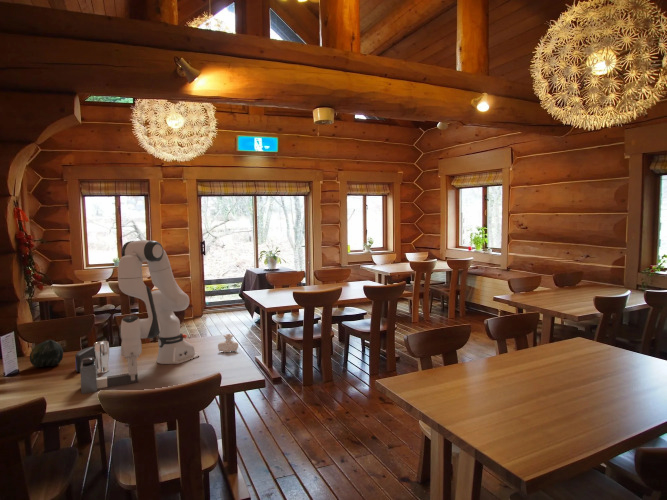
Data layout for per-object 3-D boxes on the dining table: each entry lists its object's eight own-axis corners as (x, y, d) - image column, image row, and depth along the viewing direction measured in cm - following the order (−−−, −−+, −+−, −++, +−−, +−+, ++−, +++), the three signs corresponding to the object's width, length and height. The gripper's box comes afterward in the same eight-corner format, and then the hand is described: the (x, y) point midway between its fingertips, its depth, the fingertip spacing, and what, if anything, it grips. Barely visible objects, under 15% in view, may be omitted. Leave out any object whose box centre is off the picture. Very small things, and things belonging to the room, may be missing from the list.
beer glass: (103, 374, 217) (102, 345, 216) (91, 373, 219) (90, 344, 218) (113, 369, 224) (112, 341, 223) (101, 368, 226) (100, 340, 224)
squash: (26, 354, 232) (30, 337, 225) (58, 349, 243) (63, 333, 236) (31, 376, 225) (35, 360, 218) (63, 370, 236) (68, 354, 229)
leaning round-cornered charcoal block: (87, 363, 235) (86, 346, 234) (96, 362, 235) (95, 345, 234) (70, 373, 219) (69, 355, 218) (79, 373, 219) (78, 355, 218)
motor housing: (97, 383, 205) (96, 354, 204) (96, 391, 195) (95, 361, 194) (83, 385, 203) (81, 356, 202) (81, 393, 193) (79, 363, 192)
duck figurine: (238, 354, 254) (240, 336, 260) (236, 350, 247) (238, 331, 254) (218, 355, 253) (220, 337, 260) (215, 350, 247) (218, 332, 253)
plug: (137, 379, 209) (137, 371, 209) (137, 381, 206) (137, 373, 206) (96, 386, 201) (96, 378, 201) (96, 388, 199) (96, 380, 198)
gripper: (140, 355, 198) (141, 384, 199) (137, 344, 216) (139, 370, 217) (124, 357, 195) (126, 387, 196) (124, 345, 213) (125, 372, 214)
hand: (132, 378), depth 207 cm, fingers closed on plug, 3 cm apart
